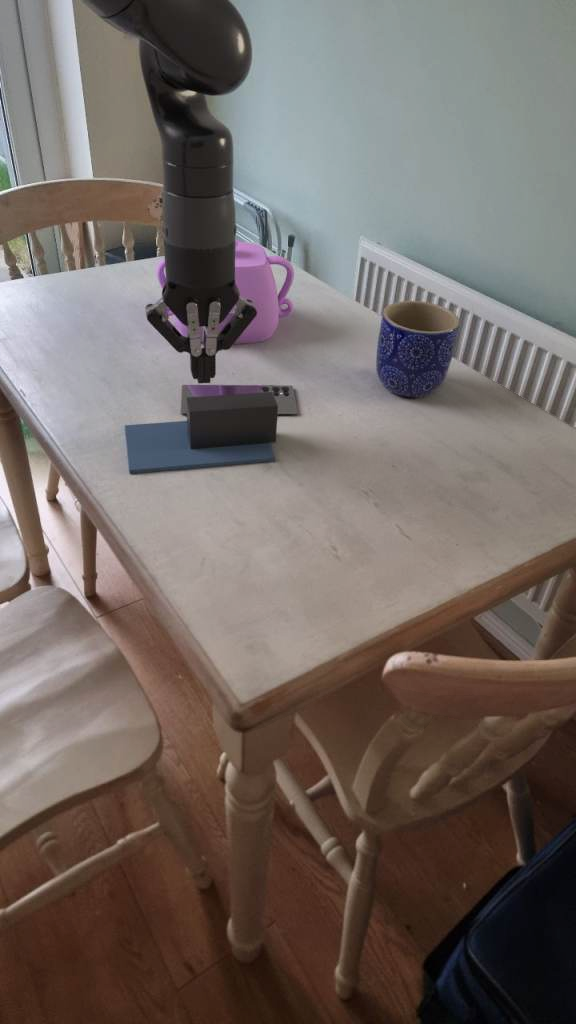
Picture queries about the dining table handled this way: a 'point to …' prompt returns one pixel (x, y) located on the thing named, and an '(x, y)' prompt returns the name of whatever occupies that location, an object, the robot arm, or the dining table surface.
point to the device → (231, 420)
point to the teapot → (252, 291)
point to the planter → (415, 347)
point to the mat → (183, 450)
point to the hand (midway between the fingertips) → (203, 379)
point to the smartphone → (281, 393)
